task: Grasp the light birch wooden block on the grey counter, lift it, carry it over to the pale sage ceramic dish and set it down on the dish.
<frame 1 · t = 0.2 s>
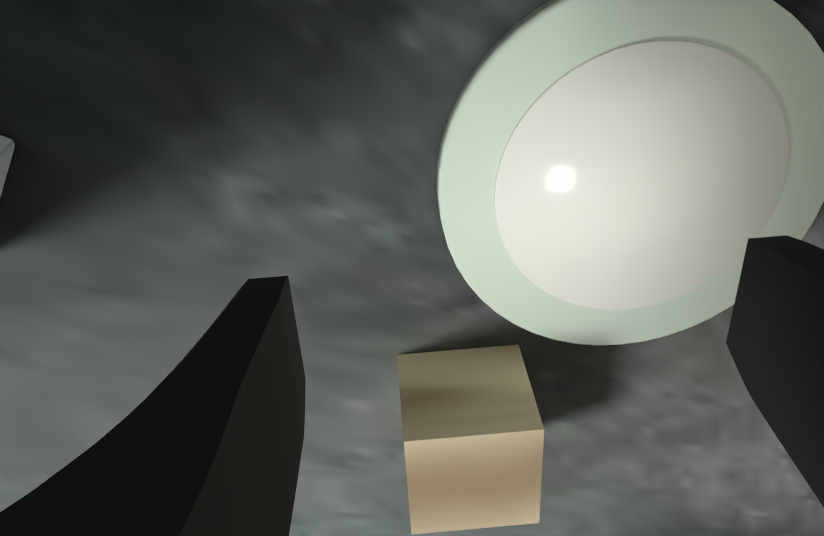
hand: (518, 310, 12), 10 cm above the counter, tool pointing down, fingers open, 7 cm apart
dish: (627, 171, 21), on the counter
block: (458, 394, 26), on the counter
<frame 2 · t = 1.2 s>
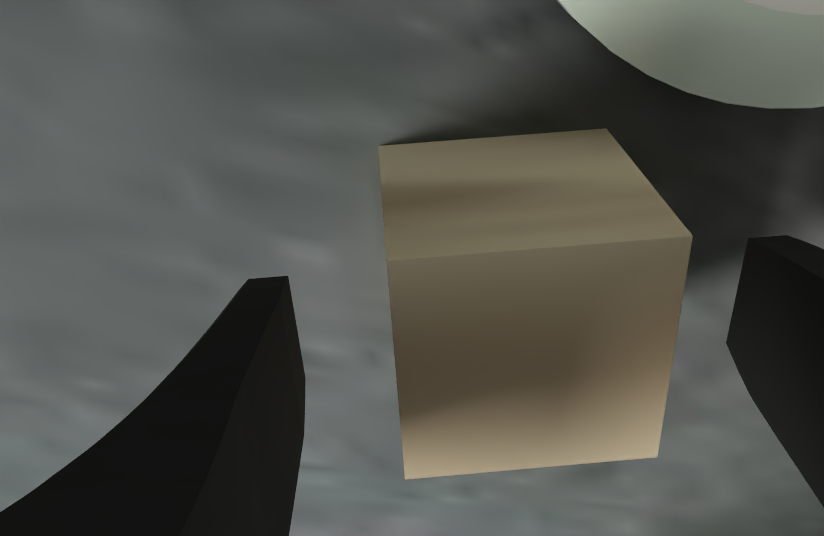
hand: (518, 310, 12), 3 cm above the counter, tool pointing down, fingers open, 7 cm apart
block: (492, 235, 14), on the counter
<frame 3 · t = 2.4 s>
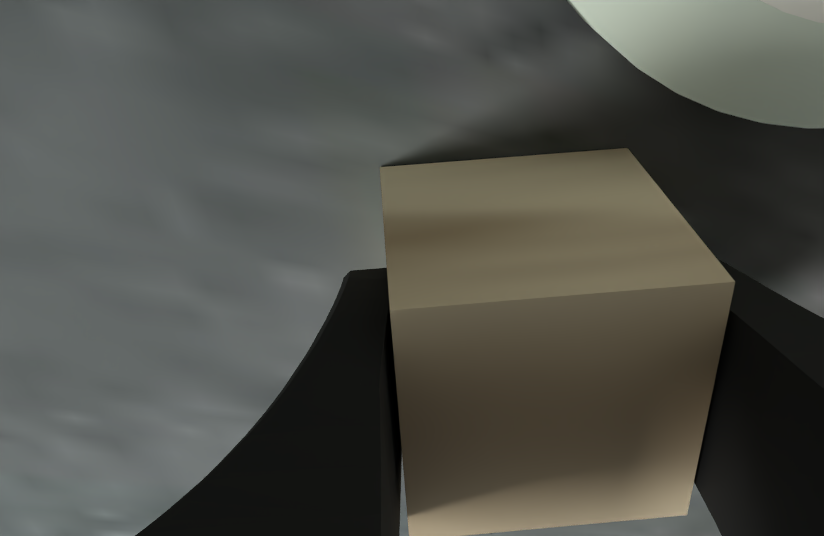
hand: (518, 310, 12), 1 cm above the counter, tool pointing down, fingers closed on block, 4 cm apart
block: (502, 263, 13), on the counter, touching gripper
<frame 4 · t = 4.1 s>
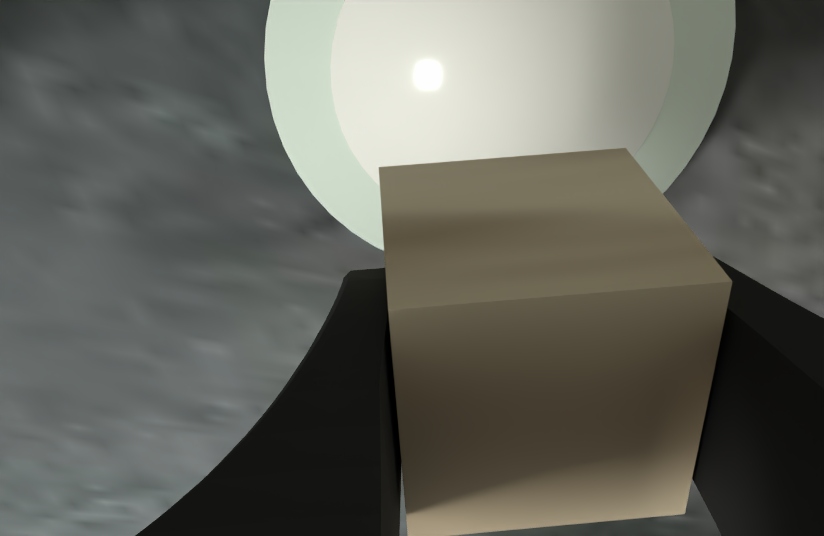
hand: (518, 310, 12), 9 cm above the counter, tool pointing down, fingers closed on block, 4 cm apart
dish: (495, 61, 18), on the counter
block: (501, 263, 13), point 7 cm above the counter, touching gripper
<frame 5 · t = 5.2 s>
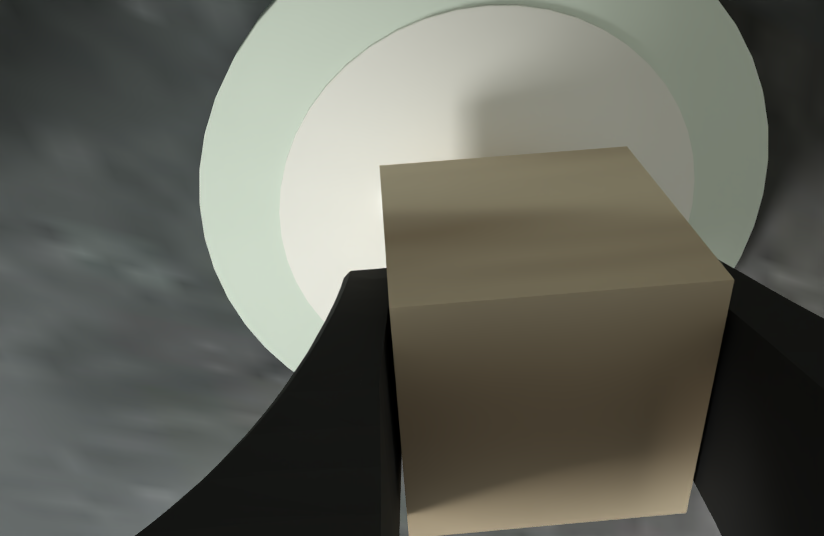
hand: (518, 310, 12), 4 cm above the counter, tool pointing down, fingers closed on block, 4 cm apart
dish: (479, 193, 15), on the counter
block: (502, 262, 13), point 3 cm above the counter, touching gripper
when the fingers open (4 cm above the counter, at t = 6.1 s): block drops 1 cm, resting on dish.
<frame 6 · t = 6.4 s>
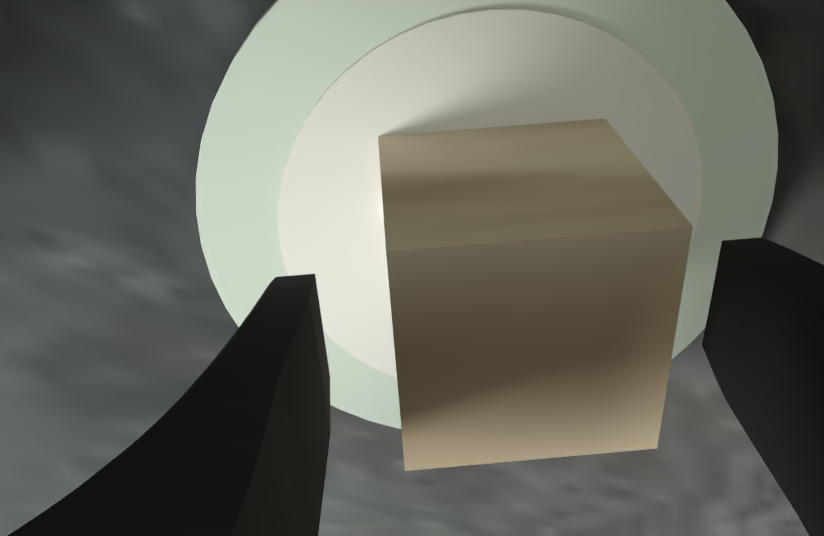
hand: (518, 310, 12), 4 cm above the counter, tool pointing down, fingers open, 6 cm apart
dish: (482, 200, 15), on the counter
block: (491, 227, 14), point 1 cm above the counter, touching dish
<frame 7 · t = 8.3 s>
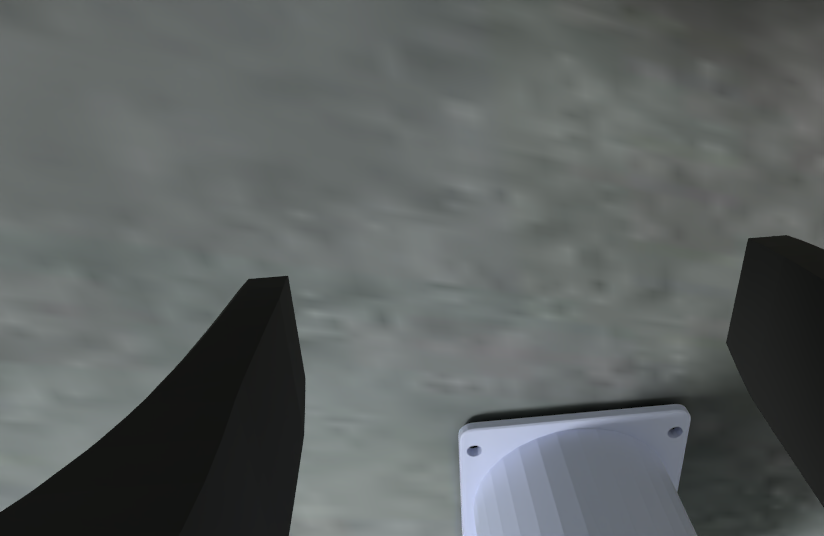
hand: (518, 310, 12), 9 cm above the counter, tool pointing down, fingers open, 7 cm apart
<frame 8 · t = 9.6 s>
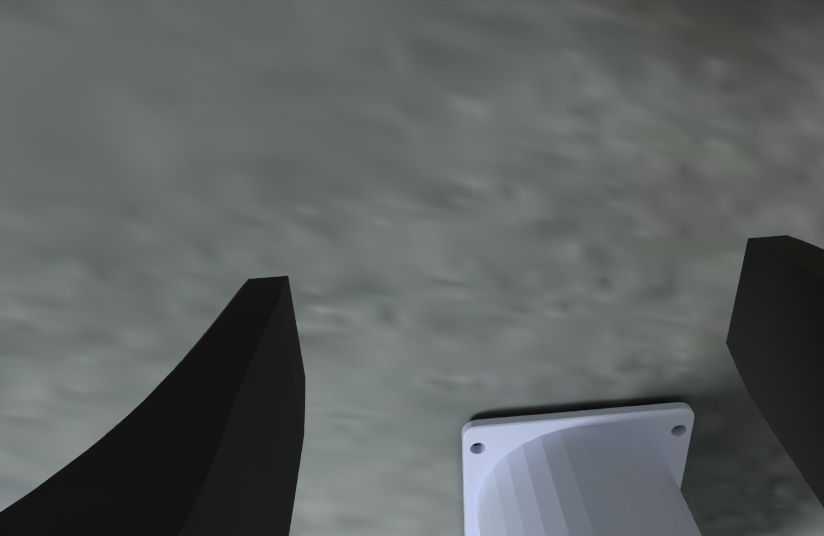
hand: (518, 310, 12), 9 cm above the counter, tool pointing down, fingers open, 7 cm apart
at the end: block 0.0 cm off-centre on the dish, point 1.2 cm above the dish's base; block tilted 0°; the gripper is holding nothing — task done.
